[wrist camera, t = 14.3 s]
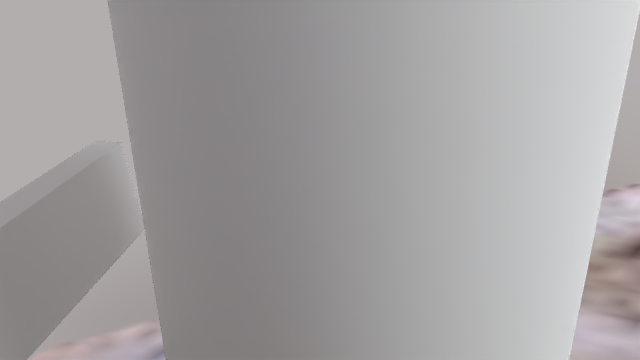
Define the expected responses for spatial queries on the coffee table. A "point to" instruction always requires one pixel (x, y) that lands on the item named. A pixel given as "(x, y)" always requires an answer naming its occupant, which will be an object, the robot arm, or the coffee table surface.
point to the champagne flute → (371, 171)
